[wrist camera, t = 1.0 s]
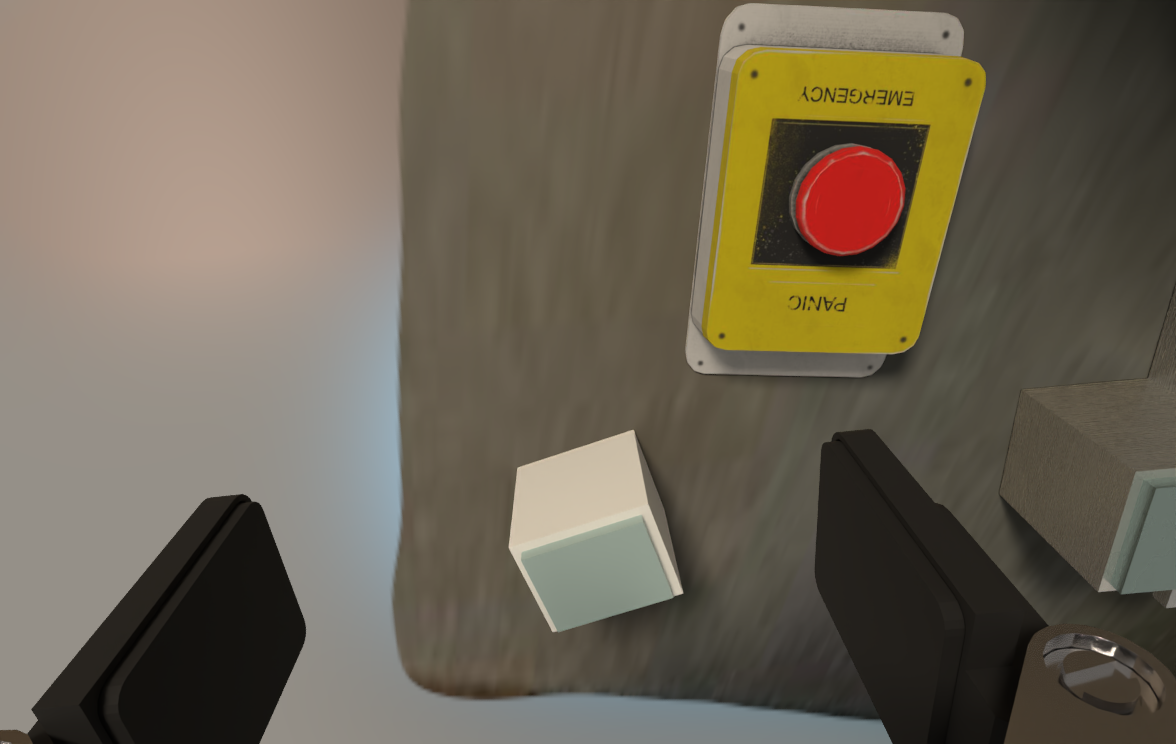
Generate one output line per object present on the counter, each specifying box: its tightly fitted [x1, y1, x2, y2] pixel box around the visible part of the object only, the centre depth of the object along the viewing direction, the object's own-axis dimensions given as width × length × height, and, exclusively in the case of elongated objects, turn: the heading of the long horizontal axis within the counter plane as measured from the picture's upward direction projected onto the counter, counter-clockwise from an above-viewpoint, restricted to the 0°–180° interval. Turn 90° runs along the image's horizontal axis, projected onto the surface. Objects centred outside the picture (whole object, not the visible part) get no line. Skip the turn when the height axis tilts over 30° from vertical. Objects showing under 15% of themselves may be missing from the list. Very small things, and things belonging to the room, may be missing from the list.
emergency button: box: [685, 3, 986, 377], centre depth 26 cm, size 9×4×15 cm
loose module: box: [509, 430, 683, 632], centre depth 30 cm, size 5×6×6 cm
